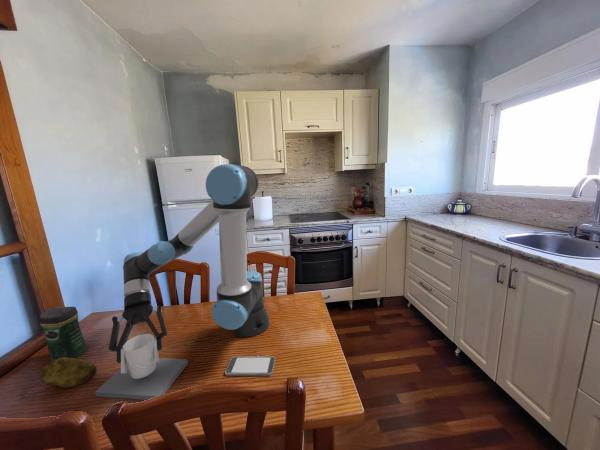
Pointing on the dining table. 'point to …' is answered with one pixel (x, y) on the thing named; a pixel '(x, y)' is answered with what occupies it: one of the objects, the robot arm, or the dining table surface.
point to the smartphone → (250, 366)
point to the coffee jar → (62, 332)
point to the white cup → (140, 355)
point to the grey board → (143, 381)
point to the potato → (67, 372)
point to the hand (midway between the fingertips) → (140, 367)
